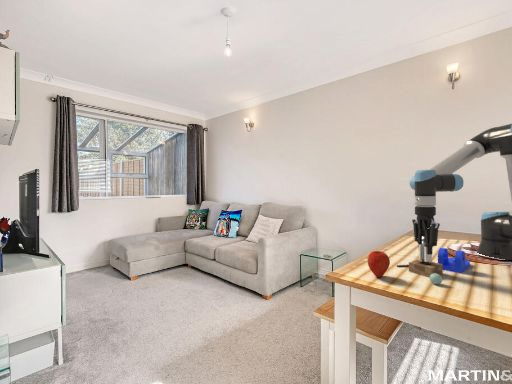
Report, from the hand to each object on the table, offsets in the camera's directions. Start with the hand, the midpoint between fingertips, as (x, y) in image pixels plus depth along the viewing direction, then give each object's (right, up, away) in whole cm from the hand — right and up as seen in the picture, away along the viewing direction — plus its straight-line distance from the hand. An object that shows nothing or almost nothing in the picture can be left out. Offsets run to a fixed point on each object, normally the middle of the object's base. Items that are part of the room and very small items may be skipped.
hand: (425, 260), depth 109 cm
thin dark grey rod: (0, -5, +9) cm, 10 cm away
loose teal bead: (-4, -6, -12) cm, 14 cm away
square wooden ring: (0, -5, 0) cm, 5 cm away
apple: (-22, -6, -3) cm, 23 cm away
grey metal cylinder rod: (0, -5, 0) cm, 5 cm away
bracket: (+18, -5, +7) cm, 20 cm away
